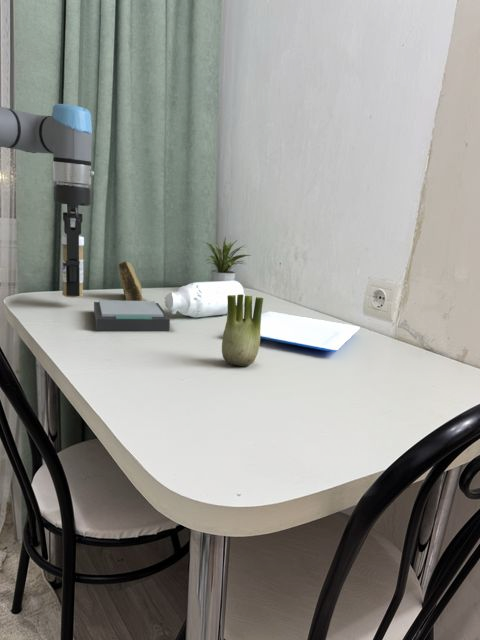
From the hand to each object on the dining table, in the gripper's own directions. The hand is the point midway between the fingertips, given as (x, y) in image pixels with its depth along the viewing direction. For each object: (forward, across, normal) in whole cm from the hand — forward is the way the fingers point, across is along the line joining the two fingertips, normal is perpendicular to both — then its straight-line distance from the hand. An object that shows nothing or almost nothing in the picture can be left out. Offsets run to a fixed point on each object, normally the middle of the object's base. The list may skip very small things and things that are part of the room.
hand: (73, 292), depth 114 cm
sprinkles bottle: (+1, 0, 0) cm, 1 cm away
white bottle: (+3, -8, -29) cm, 31 cm away
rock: (+3, +11, -14) cm, 18 cm away
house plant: (+3, +22, -40) cm, 46 cm away
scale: (+3, -13, -11) cm, 18 cm away
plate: (+2, -26, -44) cm, 52 cm away
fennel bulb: (+3, -43, -26) cm, 51 cm away
